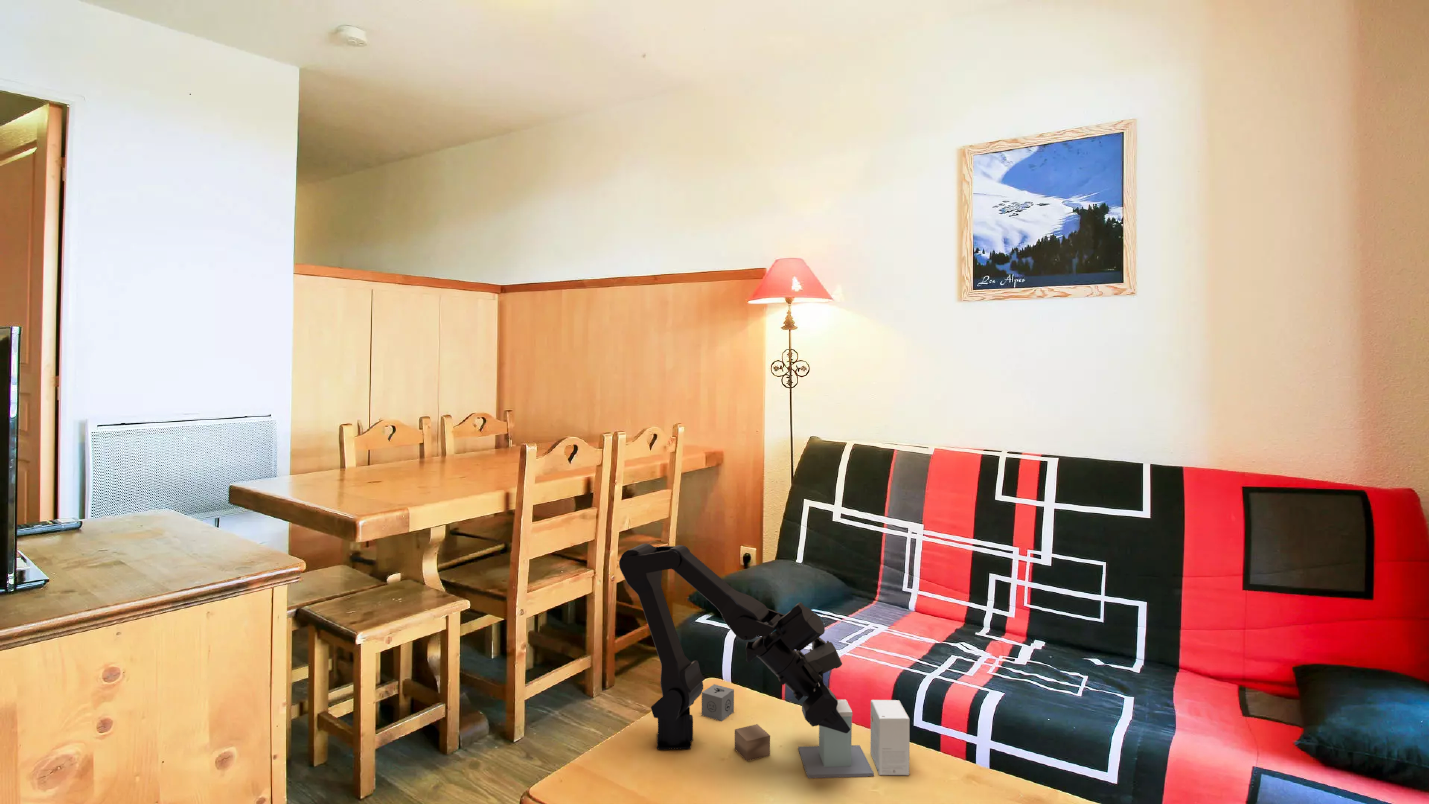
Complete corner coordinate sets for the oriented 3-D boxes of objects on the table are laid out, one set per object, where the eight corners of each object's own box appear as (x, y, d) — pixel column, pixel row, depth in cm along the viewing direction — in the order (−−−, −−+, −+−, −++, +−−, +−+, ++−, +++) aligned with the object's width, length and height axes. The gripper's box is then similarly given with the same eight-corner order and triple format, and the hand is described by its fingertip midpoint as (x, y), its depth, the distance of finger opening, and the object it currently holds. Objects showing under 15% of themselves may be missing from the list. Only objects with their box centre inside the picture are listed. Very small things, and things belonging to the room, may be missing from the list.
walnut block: (746, 762, 135) (746, 741, 135) (734, 749, 139) (734, 729, 139) (770, 756, 137) (770, 735, 137) (757, 744, 141) (757, 724, 141)
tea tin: (823, 767, 132) (824, 712, 131) (818, 752, 137) (818, 699, 137) (851, 766, 132) (852, 712, 132) (845, 751, 137) (845, 699, 137)
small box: (909, 776, 130) (910, 719, 130) (878, 776, 130) (879, 718, 130) (899, 753, 138) (900, 699, 138) (869, 753, 138) (870, 698, 138)
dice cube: (733, 712, 155) (733, 689, 155) (721, 721, 150) (721, 698, 150) (714, 706, 157) (714, 684, 157) (701, 715, 153) (701, 692, 153)
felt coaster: (807, 778, 129) (807, 774, 129) (798, 749, 139) (798, 746, 139) (873, 776, 130) (873, 773, 130) (859, 748, 140) (859, 745, 140)
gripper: (825, 649, 124) (888, 711, 125) (806, 614, 143) (860, 668, 144) (779, 695, 124) (842, 757, 125) (766, 654, 143) (820, 708, 143)
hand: (842, 719), depth 134 cm, fingers open, 9 cm apart
